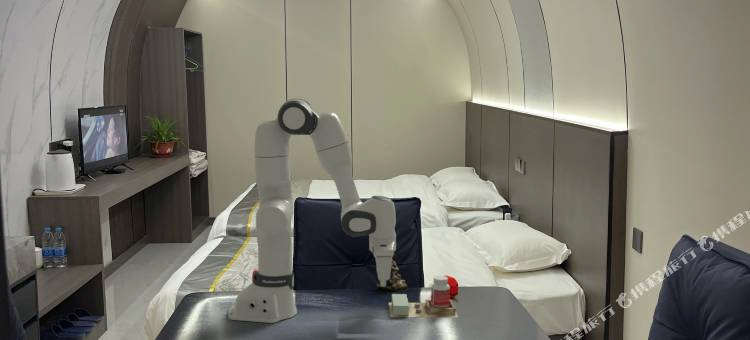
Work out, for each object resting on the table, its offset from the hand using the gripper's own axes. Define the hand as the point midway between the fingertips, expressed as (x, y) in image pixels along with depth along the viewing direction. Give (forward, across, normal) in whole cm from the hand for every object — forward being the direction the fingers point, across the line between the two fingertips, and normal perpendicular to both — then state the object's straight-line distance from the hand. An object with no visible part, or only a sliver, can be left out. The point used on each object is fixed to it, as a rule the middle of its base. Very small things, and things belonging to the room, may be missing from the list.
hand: (383, 285), depth 224 cm
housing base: (+10, 0, +13) cm, 16 cm away
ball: (+11, -16, +23) cm, 30 cm away
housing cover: (+9, 0, +6) cm, 10 cm away
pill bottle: (+9, 0, +19) cm, 21 cm away
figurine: (+10, -25, +4) cm, 27 cm away
